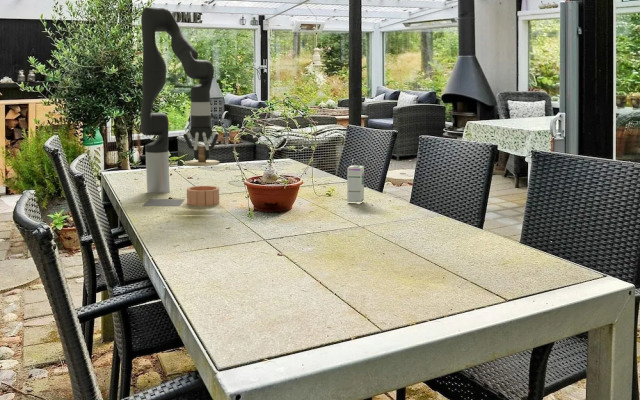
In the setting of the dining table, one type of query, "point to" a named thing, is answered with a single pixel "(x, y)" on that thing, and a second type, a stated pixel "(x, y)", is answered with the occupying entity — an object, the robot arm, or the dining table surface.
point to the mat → (164, 202)
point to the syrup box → (355, 183)
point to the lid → (201, 159)
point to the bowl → (203, 195)
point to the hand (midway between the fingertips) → (201, 159)
